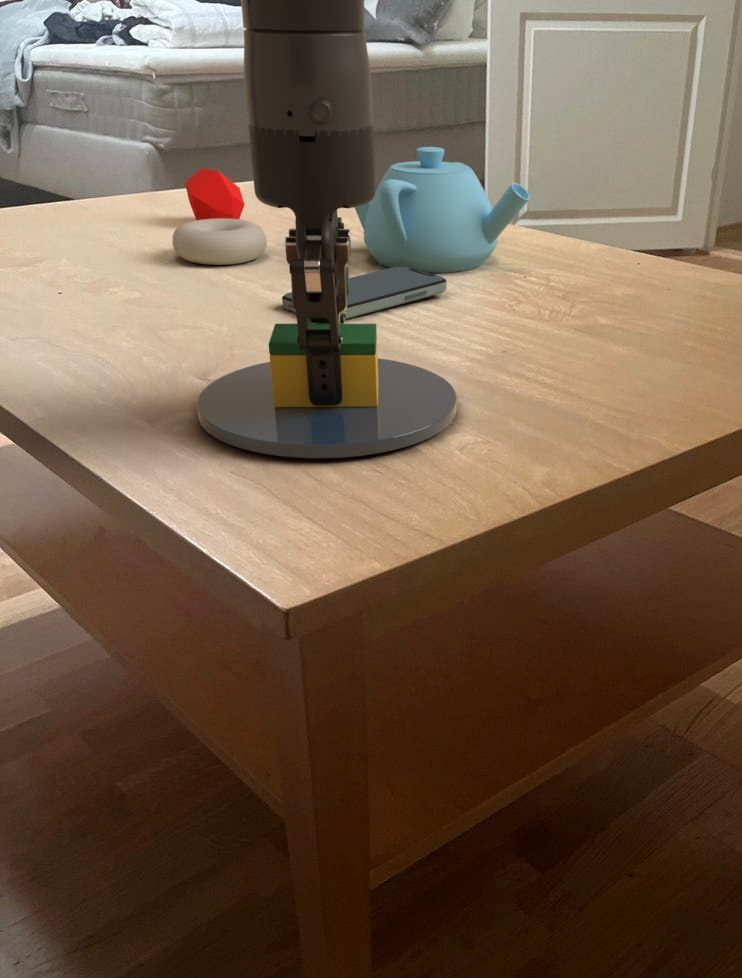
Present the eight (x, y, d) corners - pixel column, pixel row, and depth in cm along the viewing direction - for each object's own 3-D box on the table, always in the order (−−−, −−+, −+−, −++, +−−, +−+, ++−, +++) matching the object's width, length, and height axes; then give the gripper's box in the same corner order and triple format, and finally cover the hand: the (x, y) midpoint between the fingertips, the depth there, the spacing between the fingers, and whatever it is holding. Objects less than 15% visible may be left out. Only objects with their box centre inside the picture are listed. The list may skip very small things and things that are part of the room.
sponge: (274, 407, 68) (268, 343, 66) (280, 385, 72) (274, 323, 70) (377, 407, 69) (375, 343, 66) (378, 384, 72) (376, 323, 70)
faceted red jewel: (256, 179, 120) (217, 146, 123) (207, 196, 117) (169, 162, 119) (259, 230, 126) (221, 197, 128) (212, 248, 122) (175, 214, 125)
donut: (287, 256, 111) (219, 242, 115) (285, 223, 109) (216, 210, 113) (224, 274, 104) (154, 259, 108) (220, 239, 102) (149, 225, 106)
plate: (177, 464, 63) (174, 446, 62) (218, 370, 78) (216, 355, 77) (464, 461, 64) (464, 444, 63) (450, 370, 79) (450, 355, 78)
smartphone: (276, 294, 92) (400, 263, 101) (278, 312, 93) (401, 280, 102) (325, 311, 88) (451, 278, 96) (327, 330, 89) (451, 295, 97)
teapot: (394, 285, 101) (391, 162, 95) (340, 249, 114) (335, 140, 108) (530, 272, 106) (536, 156, 100) (464, 240, 119) (466, 135, 113)
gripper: (260, 104, 66) (283, 358, 76) (232, 131, 54) (263, 429, 64) (374, 106, 67) (383, 358, 76) (370, 133, 55) (381, 428, 64)
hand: (328, 389), depth 70 cm, fingers closed on sponge, 4 cm apart
